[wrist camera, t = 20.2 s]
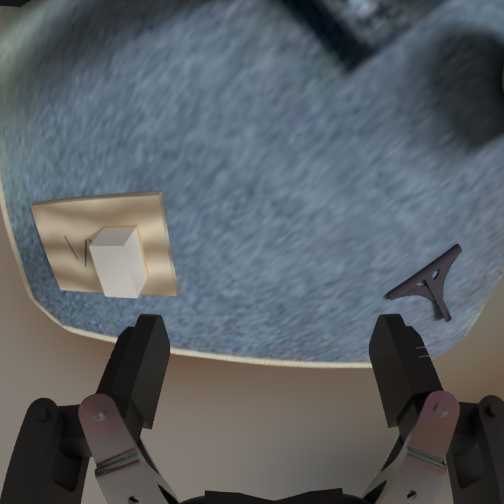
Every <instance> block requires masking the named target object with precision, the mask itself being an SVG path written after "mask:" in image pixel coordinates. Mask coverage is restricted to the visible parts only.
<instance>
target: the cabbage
mask: <svg viewBox="0 0 504 504" xmlns="http://www.w3.org/2000/svg"><path fill="white" fill-rule="evenodd" d="M502 87H503V92H504V66H503V72H502Z"/></svg>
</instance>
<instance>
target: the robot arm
mask: <svg viewBox="0 0 504 504" xmlns="http://www.w3.org/2000/svg"><path fill="white" fill-rule="evenodd" d="M369 356H370V360H371V363H372V367H373V370H374V374H375V378H376V381H377V385H378V389H379V392H380V396H381V400H382V404H383V408H384V412H385V416H386V420H387V424H388V428H391V427H396V426H398V427H399V434H398V435H397V437H396V439H395V441H394V443H393V445H392V447H391V449H390V451H389V453H388V455H387V457H386V458H385V460H384V462H383V464H382V466H381V467H380V469H379V471H378V473H377V474H376V476H375V477H374V478H373V479H372V481H371V482H370V483H369V485H368V486H367V488H366V489H365V490H364V492H363V493H362V495H361V497H356V496H353V495H349V494H343V492H342V488H337V489H330V490H320V491H309V492H306V493H303V494H300V495H296V496H292V497H288V498H284V499H281V500H276V501H272V500H266V499H262V498H257V497H254V496H249V495H245V494H241V493H232V492H217V491H205V496H199V497H195V498H191V499H189V500H186V501H183V502H180V501H179V499H178V498H177V496H176V495H175V493H174V492H173V490H172V489H171V487H170V486H169V485H168V483H167V482H166V481H165V479H164V478H163V477H162V475H161V474H160V472H159V470H158V468H157V467H156V465H155V463H154V462H153V460H152V458H151V456H150V454H149V453H148V451H147V449H146V447H145V445H144V444H143V442H142V440H141V438H140V434H141V430H142V428H146V429H152V426H153V421H154V417H155V413H156V409H157V404H158V400H159V396H160V392H161V388H162V384H163V380H164V376H165V372H166V368H167V365H168V361H169V357H170V342H169V339H168V335H167V332H166V328H165V325H164V322H163V318H162V316H161V315H154V314H141V315H140V316H139V318H138V320H137V323H136V325H135V327H127V328H126V329H125V330H124V331H123V332H122V333H121V334H120V336H119V337H118V340H117V342H116V344H115V347H114V349H113V351H112V354H111V358H110V359H109V361H108V364H107V366H106V369H105V371H104V374H103V376H102V379H101V381H100V384H99V387H98V389H97V391H96V393H95V394H93V395H90V396H88V397H87V398H85V399H84V400H83V401H82V403H81V404H79V405H69V406H57V405H56V404H55V402H54V401H52V400H51V399H48V398H39V399H37V400H35V401H34V402H33V403H32V404H31V405H30V406H29V408H28V410H27V413H26V415H25V418H24V420H23V423H22V426H21V429H20V432H19V435H18V438H17V441H16V444H15V447H14V450H13V453H12V456H11V460H10V463H9V467H8V470H7V474H6V478H5V482H4V486H3V490H2V494H1V498H0V504H81V498H82V493H83V488H84V482H85V477H86V472H87V468H88V463H89V458H90V457H94V460H95V463H96V466H97V469H96V470H95V476H96V479H97V481H98V483H99V486H100V488H101V490H102V492H103V495H104V497H105V499H106V501H107V503H108V504H432V503H433V501H434V499H435V497H436V495H437V493H438V490H439V488H440V486H441V483H442V481H443V479H444V476H445V473H446V470H447V466H448V471H449V477H450V482H451V488H452V494H453V501H454V504H504V402H503V401H502V400H501V399H500V398H499V397H497V396H494V395H488V396H486V397H484V398H483V399H482V400H481V401H480V402H479V403H478V404H477V403H463V402H458V400H457V399H456V398H455V397H454V396H453V395H452V394H451V393H449V392H446V391H444V390H443V388H442V386H441V383H440V381H439V378H438V376H437V373H436V371H435V368H434V366H433V363H432V361H431V359H430V357H429V354H428V352H427V349H426V348H425V345H424V343H423V340H422V338H421V336H420V335H419V334H418V333H417V332H416V330H415V329H414V328H413V327H412V326H405V323H404V321H403V319H402V317H401V315H400V314H383V315H380V316H379V317H378V319H377V322H376V325H375V328H374V331H373V334H372V337H371V340H370V343H369ZM479 448H480V449H479ZM480 452H481V453H480ZM445 456H446V461H447V465H446V464H444V459H445ZM481 456H482V457H481ZM482 460H483V461H482Z"/></svg>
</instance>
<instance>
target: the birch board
mask: <svg viewBox="0 0 504 504" xmlns="http://www.w3.org/2000/svg"><path fill="white" fill-rule="evenodd" d="M31 209H32V213H33V216H34V219H35V223H36V226H37V229H38V232H39V235H40V238H41V241H42V244H43V247H44V249H45V252H46V255H47V258H48V260H49V263H50V265H51V268H52V271H53V273H54V276H55V278H56V280H57V283H58V285H59V288H60V290H68V291H82V292H98V293H104V291H103V288H102V286H101V283H100V280H99V277H98V274H97V271H96V268H95V265H94V262H93V259H92V255H91V252H90V249H89V245H90V244H91V243H92V242H93V240H94V239H95V238H96V237H97V236H98V234H99V233H100V232H101V231H102V230H103V229H104V227H105V226H106V225H138V226H139V231H140V235H141V240H142V245H143V249H144V254H145V258H146V263H147V267H148V271H149V275H148V277H147V279H146V281H145V284H144V286H143V288H142V290H141V292H140V294H139V295H160V296H177V293H178V285H177V280H176V275H175V270H174V264H173V259H172V253H171V248H170V242H169V236H168V230H167V224H166V218H165V211H164V204H163V197H162V191H153V192H137V193H122V194H109V195H97V196H86V197H76V198H66V199H57V200H48V201H40V202H35V203H34V204H33V205H31Z"/></svg>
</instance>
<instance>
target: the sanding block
mask: <svg viewBox="0 0 504 504" xmlns="http://www.w3.org/2000/svg"><path fill="white" fill-rule="evenodd" d="M89 249H90V252H91V255H92V259H93V262H94V265H95V268H96V271H97V274H98V277H99V280H100V283H101V286H102V288H103V291H104V294H105V296H106V297H122V298H138V296H139V294H140V292H141V290H142V288H143V286H144V284H145V281H146V279H147V277H148V275H149V271H148V267H147V263H146V258H145V254H144V249H143V245H142V240H141V235H140V231H139V226H138V225H106V226H105V227H104V229H103V230H102V231H101V232H100V233H99V234H98V236H97V237H96V238H95V239H94V240H93V242H92V243H91V244H90V245H89Z"/></svg>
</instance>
